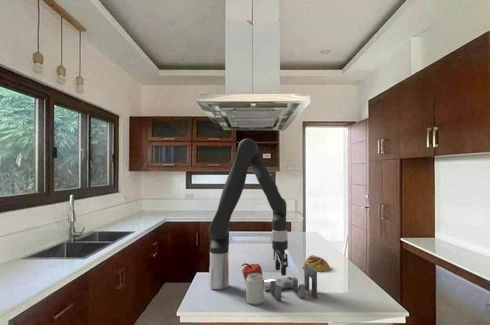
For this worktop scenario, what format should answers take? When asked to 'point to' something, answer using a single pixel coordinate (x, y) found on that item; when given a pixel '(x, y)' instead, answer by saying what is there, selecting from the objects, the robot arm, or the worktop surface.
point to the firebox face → (313, 274)
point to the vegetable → (251, 269)
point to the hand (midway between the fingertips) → (280, 272)
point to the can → (254, 288)
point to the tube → (279, 283)
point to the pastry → (317, 264)
